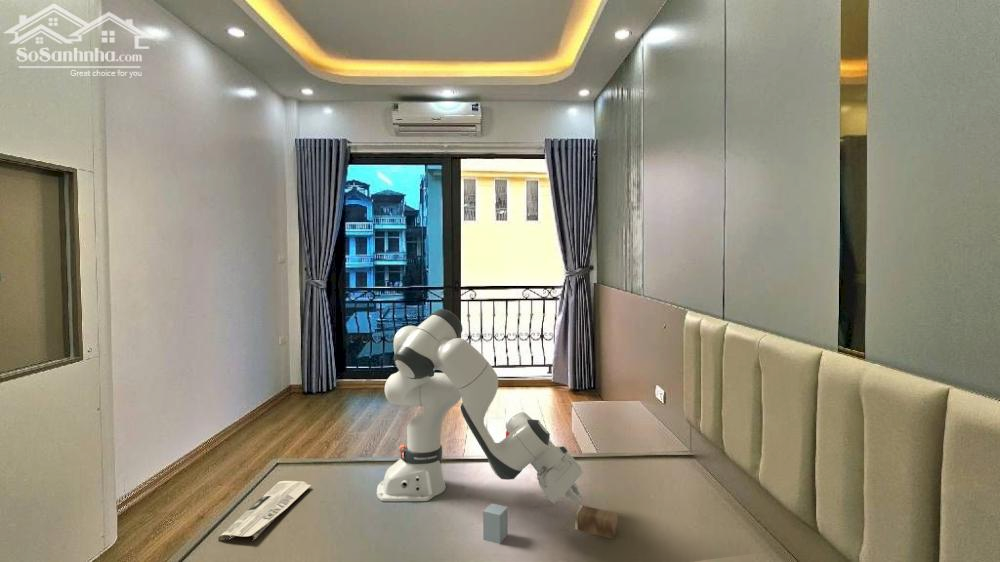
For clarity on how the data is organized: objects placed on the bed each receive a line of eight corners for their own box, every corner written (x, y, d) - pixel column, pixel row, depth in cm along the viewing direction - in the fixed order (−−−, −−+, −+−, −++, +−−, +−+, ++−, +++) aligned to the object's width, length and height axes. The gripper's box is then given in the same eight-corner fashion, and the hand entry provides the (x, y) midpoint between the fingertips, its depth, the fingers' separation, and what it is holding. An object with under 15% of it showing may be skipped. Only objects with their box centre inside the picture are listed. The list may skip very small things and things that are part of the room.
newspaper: (277, 486, 176) (277, 476, 176) (313, 487, 176) (313, 477, 175) (215, 545, 141) (214, 532, 141) (260, 546, 140) (259, 534, 140)
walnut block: (575, 512, 148) (613, 521, 144) (580, 505, 153) (617, 513, 148) (574, 529, 149) (613, 539, 144) (580, 521, 153) (617, 530, 148)
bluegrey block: (483, 539, 143) (483, 511, 143) (491, 530, 148) (491, 503, 148) (499, 544, 141) (499, 515, 141) (507, 535, 146) (507, 507, 145)
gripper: (542, 468, 144) (576, 511, 140) (567, 444, 162) (597, 481, 158) (527, 481, 146) (560, 523, 142) (553, 456, 164) (583, 493, 160)
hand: (580, 501), depth 150 cm, fingers closed
